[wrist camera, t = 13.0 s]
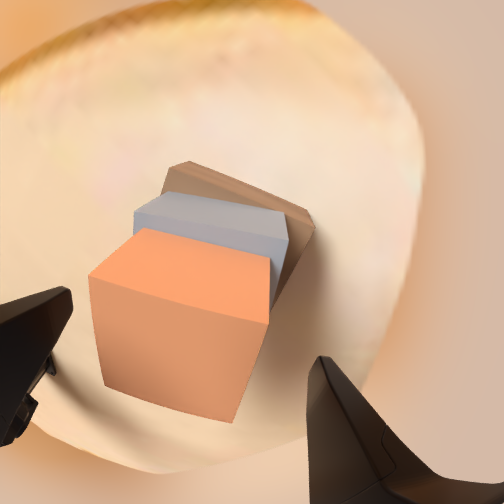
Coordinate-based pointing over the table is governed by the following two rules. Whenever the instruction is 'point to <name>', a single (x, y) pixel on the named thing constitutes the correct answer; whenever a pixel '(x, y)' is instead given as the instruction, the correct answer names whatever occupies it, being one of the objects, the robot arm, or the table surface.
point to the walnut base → (232, 190)
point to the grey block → (220, 226)
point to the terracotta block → (180, 321)
